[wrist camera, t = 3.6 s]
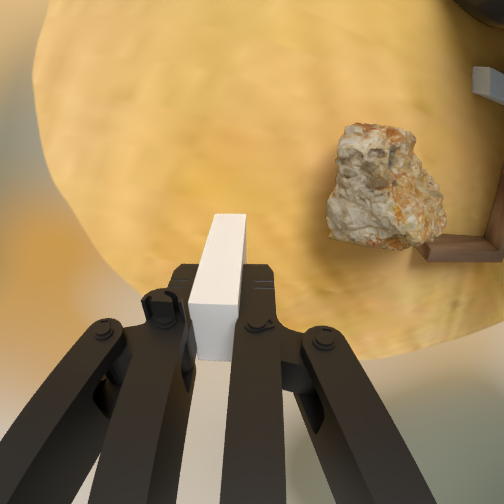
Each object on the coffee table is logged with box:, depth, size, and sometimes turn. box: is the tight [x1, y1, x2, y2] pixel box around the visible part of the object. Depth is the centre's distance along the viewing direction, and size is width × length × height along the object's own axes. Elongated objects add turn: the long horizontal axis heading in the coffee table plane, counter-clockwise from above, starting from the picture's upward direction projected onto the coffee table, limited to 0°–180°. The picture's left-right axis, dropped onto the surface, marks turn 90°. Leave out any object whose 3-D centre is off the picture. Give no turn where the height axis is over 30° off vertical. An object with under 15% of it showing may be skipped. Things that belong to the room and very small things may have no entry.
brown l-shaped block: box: [416, 162, 504, 262], centre depth 24 cm, size 15×12×4 cm
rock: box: [326, 123, 447, 251], centre depth 22 cm, size 12×10×10 cm
